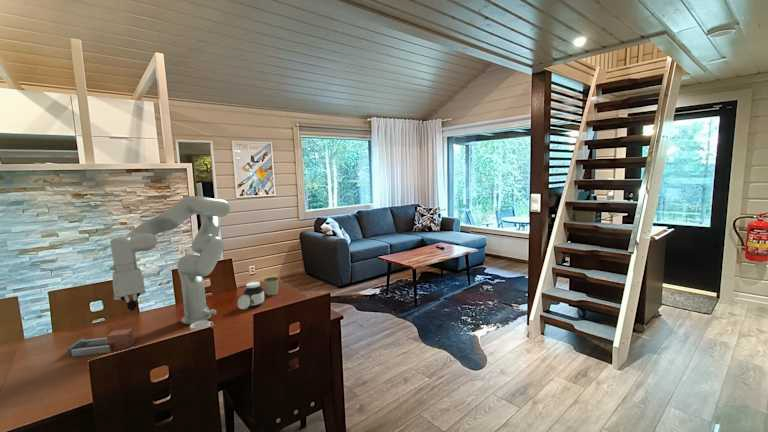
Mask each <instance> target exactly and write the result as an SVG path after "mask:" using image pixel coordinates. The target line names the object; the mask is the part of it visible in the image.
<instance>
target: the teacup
mask: <svg viewBox="0 0 768 432" xmlns="http://www.w3.org/2000/svg"><path fill="white" fill-rule="evenodd" d="M206 326H210V327H211V326H212V327H213V326H214V322H213V321H209V320H206V321H199V322H195V323H193V324H189V330H190V332H191V331H192V330H196V329H199V328H202V327H206Z"/></svg>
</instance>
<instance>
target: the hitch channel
mask: <svg viewBox="0 0 768 432" xmlns="http://www.w3.org/2000/svg"><path fill="white" fill-rule="evenodd" d="M96 345H97V346H96ZM111 352H112V350H111V345H108V340H107V337H98V338H90V339H86V337H82V338H80V339H78V340H77V341H76V342H75V343H73V344H71V346H69V347H68V348H67V355H68V358H75V357H82V356H89V355H90V354H91V355H98V354H97V353H99V354H104V353H105V354H106V353H111Z"/></svg>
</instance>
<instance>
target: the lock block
mask: <svg viewBox="0 0 768 432" xmlns="http://www.w3.org/2000/svg"><path fill="white" fill-rule="evenodd" d="M106 338H107V340H108V344H107V345H111V351H112V350H119V348H121V349H123V348H122V347H129V345H130V344H132V345H133V344H134V343H135V339H134V332H133V328H127V329H118V330H113V331H111V332H110V333H109V334H108V335H106Z"/></svg>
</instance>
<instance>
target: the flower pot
mask: <svg viewBox="0 0 768 432" xmlns="http://www.w3.org/2000/svg"><path fill="white" fill-rule="evenodd" d="M280 279H281V278H280V277H278V276H271V277H266V278H263V279H262V283H263V286H264V288H265V294H266V295H267V296H270V297H271V296H275V295H276V296H277V294H278V292H279V282H280Z"/></svg>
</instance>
